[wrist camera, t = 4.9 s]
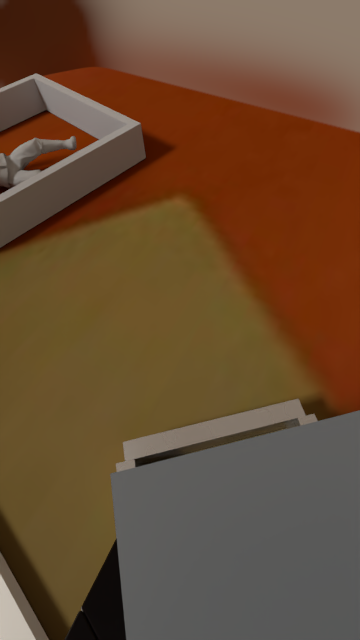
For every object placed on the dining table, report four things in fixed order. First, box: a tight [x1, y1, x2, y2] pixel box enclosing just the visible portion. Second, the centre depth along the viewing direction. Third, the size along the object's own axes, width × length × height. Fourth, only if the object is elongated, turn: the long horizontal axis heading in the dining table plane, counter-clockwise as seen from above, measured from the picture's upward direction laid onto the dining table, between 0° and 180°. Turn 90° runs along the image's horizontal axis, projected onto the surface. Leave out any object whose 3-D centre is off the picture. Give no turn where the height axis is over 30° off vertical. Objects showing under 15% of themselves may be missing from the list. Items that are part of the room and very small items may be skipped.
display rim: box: [0, 74, 146, 248], centre depth 28 cm, size 17×17×3 cm
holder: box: [116, 399, 317, 472], centre depth 13 cm, size 8×9×2 cm
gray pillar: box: [111, 411, 360, 640], centre depth 8 cm, size 5×6×13 cm
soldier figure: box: [0, 136, 76, 188], centre depth 26 cm, size 8×5×12 cm
